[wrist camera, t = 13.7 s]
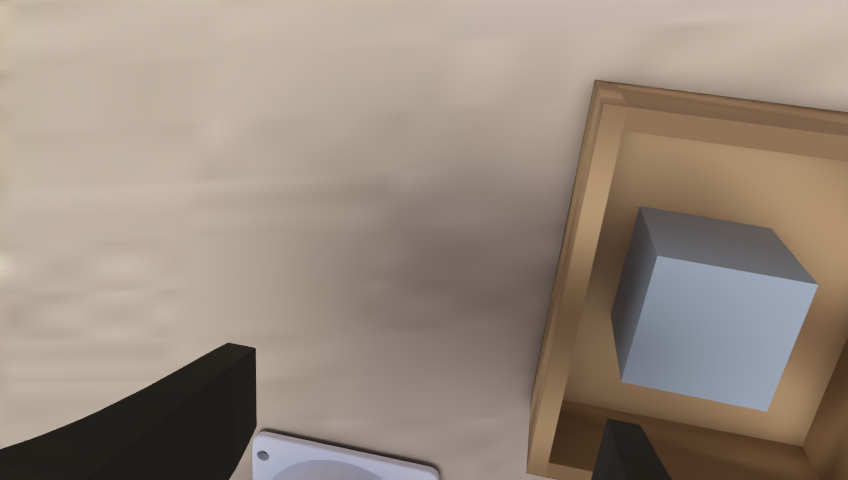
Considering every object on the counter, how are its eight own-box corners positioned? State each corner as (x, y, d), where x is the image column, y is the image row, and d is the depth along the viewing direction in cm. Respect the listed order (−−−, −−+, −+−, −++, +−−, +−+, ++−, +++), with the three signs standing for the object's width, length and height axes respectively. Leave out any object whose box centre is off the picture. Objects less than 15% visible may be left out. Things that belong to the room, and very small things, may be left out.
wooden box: (809, 453, 23) (855, 542, 20) (530, 399, 25) (526, 472, 21) (949, 125, 19) (1044, 162, 15) (595, 79, 20) (603, 103, 16)
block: (731, 338, 22) (767, 411, 18) (610, 314, 22) (621, 381, 19) (771, 228, 20) (818, 284, 16) (639, 205, 21) (657, 256, 17)
